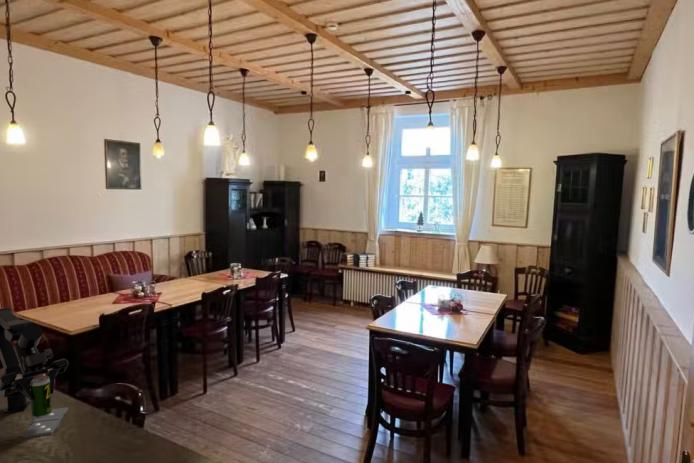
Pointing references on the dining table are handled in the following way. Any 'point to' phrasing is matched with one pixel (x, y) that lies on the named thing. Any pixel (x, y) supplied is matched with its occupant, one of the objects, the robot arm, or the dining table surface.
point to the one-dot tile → (53, 415)
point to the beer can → (41, 397)
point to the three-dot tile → (41, 428)
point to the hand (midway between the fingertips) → (42, 396)
